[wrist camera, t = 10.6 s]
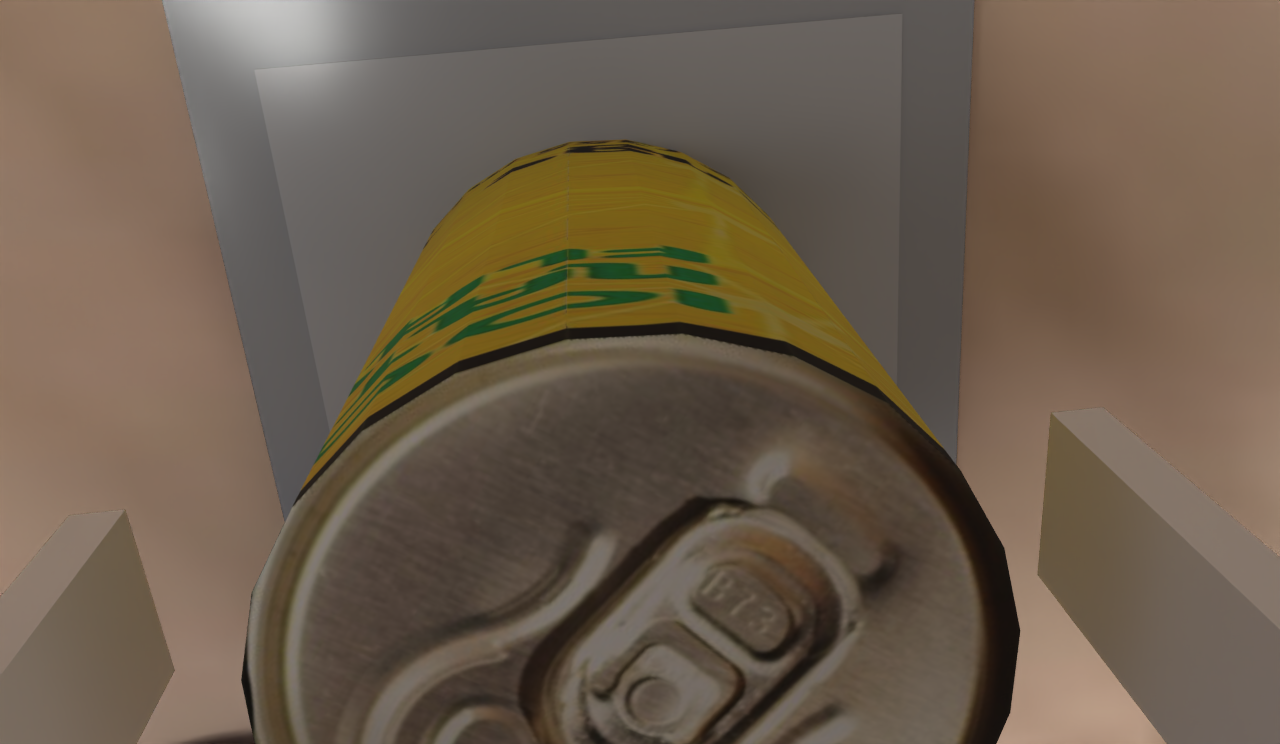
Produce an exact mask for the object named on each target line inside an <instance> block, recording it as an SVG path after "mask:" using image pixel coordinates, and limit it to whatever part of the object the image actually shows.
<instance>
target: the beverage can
mask: <svg viewBox="0 0 1280 744" xmlns="http://www.w3.org/2000/svg"><path fill="white" fill-rule="evenodd" d="M1019 637H1020V627H1019V622H1018V617H1017V612H1016V606H1015V601H1014V596H1013V591H1012V586H1011V581H1010V576H1009V570H1008V565H1007V560H1006V555H1005V550H1004V547H1003V545H1002V543H1001V541H1000V540H999V538H998V536H997V534H996V533H995V531H994V529H993V527H992V526H991V524H990V522H989V520H988V518H987V517H986V515H985V513H984V511H983V510H982V508H981V506H980V504H979V503H978V501H977V499H976V497H975V495H974V494H973V492H972V490H971V488H970V487H969V485H968V483H967V481H966V479H965V478H964V476H963V474H962V472H961V471H960V469H959V468H958V466H957V465H956V464H955V462H954V461H953V460H952V458H951V457H950V456H949V454H948V453H947V452H946V450H945V449H944V448H943V446H942V445H941V444H940V443H939V441H938V440H937V439H936V437H935V436H934V435H933V433H932V432H931V431H930V429H929V428H928V427H927V425H926V424H925V423H924V421H923V420H922V419H921V417H920V416H919V415H918V413H917V412H916V411H915V409H914V408H913V407H912V405H911V404H910V403H909V401H908V400H907V399H906V397H905V396H904V395H903V393H902V392H901V391H900V389H899V388H898V387H897V385H896V384H895V383H894V381H893V380H892V379H891V377H890V376H889V375H888V374H887V372H886V371H885V370H884V368H883V367H882V366H881V364H880V363H879V362H878V360H877V359H876V358H875V356H874V355H873V354H872V352H871V351H870V350H869V348H868V347H867V346H866V344H865V343H864V342H863V340H862V339H861V338H860V336H859V335H858V334H857V332H856V331H855V330H854V328H853V327H852V326H851V324H850V323H849V322H848V320H847V319H846V318H845V316H844V315H843V314H842V312H841V311H840V310H839V308H838V307H837V306H836V304H835V303H834V302H833V301H832V299H831V298H830V297H829V295H828V294H827V293H826V291H825V290H824V289H823V287H822V286H821V285H820V283H819V282H818V281H817V279H816V278H815V277H814V275H813V274H812V273H811V271H810V270H809V269H808V267H807V266H806V265H805V263H804V262H803V261H802V259H801V258H800V257H799V255H798V254H797V253H796V251H795V250H794V249H793V247H792V246H791V245H790V243H789V242H788V241H787V239H786V238H785V237H784V235H783V234H782V233H781V231H780V230H779V229H778V228H777V226H776V225H775V224H774V222H773V221H772V220H771V218H770V217H769V216H768V214H767V213H766V212H765V211H763V210H762V209H761V208H760V207H759V206H758V205H757V204H756V203H755V202H754V201H753V200H752V199H751V198H750V197H749V196H748V195H747V194H746V193H745V192H744V191H743V190H742V189H741V188H740V187H738V186H737V185H736V184H735V183H734V182H733V181H732V180H731V179H730V178H729V177H727V176H725V175H723V174H721V173H720V172H718V171H716V170H714V169H712V168H710V167H708V166H706V165H705V164H703V163H701V162H699V161H697V160H695V159H693V158H692V157H690V156H688V155H686V154H684V153H682V152H679V151H675V150H671V149H666V148H662V147H657V146H653V145H649V144H644V143H640V142H635V141H631V140H627V139H623V140H599V141H575V142H567V143H564V144H561V145H558V146H554V147H551V148H548V149H545V150H542V151H539V152H536V153H532V154H529V155H526V156H523V157H520V158H517V159H514V160H513V161H511V162H510V163H508V164H507V165H505V166H504V167H502V168H501V169H499V170H498V171H496V172H494V173H493V174H491V175H490V176H488V177H487V178H485V179H484V180H482V181H481V182H479V183H477V184H476V185H474V186H473V187H471V188H470V189H468V191H467V192H466V193H465V194H464V195H463V196H462V197H461V199H460V200H459V201H458V202H457V203H456V204H455V205H454V207H453V208H452V209H451V210H450V211H449V212H448V213H447V214H446V216H445V217H444V218H443V219H442V220H441V221H440V222H439V224H438V225H437V226H436V227H435V228H434V229H433V231H432V233H431V235H430V237H429V239H428V241H427V243H426V245H425V246H424V248H423V250H422V252H421V254H420V256H419V258H418V260H417V262H416V264H415V266H414V268H413V270H412V272H411V274H410V276H409V278H408V280H407V282H406V284H405V286H404V288H403V290H402V292H401V294H400V296H399V298H398V300H397V302H396V304H395V306H394V307H393V309H392V311H391V313H390V315H389V317H388V319H387V321H386V323H385V325H384V327H383V329H382V331H381V333H380V335H379V337H378V339H377V341H376V343H375V345H374V347H373V349H372V351H371V353H370V355H369V357H368V359H367V361H366V363H365V365H364V367H363V369H362V370H361V372H360V374H359V376H358V378H357V380H356V382H355V384H354V386H353V388H352V390H351V392H350V394H349V396H348V398H347V400H346V402H345V404H344V406H343V408H342V410H341V412H340V414H339V416H338V418H337V420H336V422H335V424H334V426H333V428H332V430H331V431H330V433H329V435H328V437H327V439H326V441H325V443H324V445H323V447H322V449H321V451H320V453H319V455H318V457H317V459H316V461H315V463H314V465H313V467H312V469H311V471H310V473H309V475H308V477H307V479H306V481H305V483H304V485H303V487H302V489H301V491H300V492H299V494H298V496H297V498H296V500H295V502H294V504H293V506H292V508H291V510H290V513H289V515H288V517H287V519H286V521H285V523H284V525H283V527H282V530H281V532H280V534H279V536H278V538H277V540H276V542H275V544H274V547H273V549H272V551H271V553H270V555H269V557H268V559H267V561H266V564H265V566H264V568H263V570H262V572H261V574H260V576H259V578H258V581H257V583H256V585H255V587H254V589H253V591H252V594H251V603H250V611H249V620H248V628H247V637H246V645H245V654H244V662H243V671H242V679H241V681H242V686H243V690H244V695H245V700H246V705H247V709H248V714H249V719H250V724H251V728H252V733H253V738H254V742H255V744H996V743H997V741H998V739H999V737H1000V734H1001V732H1002V730H1003V727H1004V725H1005V723H1006V721H1007V718H1008V716H1009V714H1010V710H1011V701H1012V693H1013V685H1014V677H1015V669H1016V661H1017V653H1018V645H1019Z"/></svg>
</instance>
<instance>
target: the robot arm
mask: <svg viewBox="0 0 1280 744" xmlns="http://www.w3.org/2000/svg"><path fill="white" fill-rule="evenodd" d="M1038 576H1039V577H1040V578H1041V580H1042V581H1043V582H1044V584H1045V585H1046V586H1047V587H1048V589H1049V590H1050V591H1051V593H1052V594H1053V595H1054V597H1055V598H1056V599H1057V601H1058V602H1059V603H1060V604H1061V606H1062V607H1063V608H1064V610H1065V611H1066V612H1067V614H1068V615H1069V616H1070V618H1071V619H1072V620H1073V621H1074V623H1075V624H1076V625H1077V627H1078V628H1079V629H1080V631H1081V632H1082V633H1083V635H1084V636H1085V637H1086V638H1087V640H1088V641H1089V642H1090V644H1091V645H1092V646H1093V648H1094V649H1095V650H1096V652H1097V653H1098V654H1099V655H1100V657H1101V658H1102V659H1103V661H1104V662H1105V663H1106V665H1107V666H1108V667H1109V669H1110V670H1111V671H1112V672H1113V674H1114V675H1115V676H1116V678H1117V679H1118V680H1119V682H1120V683H1121V684H1122V686H1123V687H1124V688H1125V689H1126V691H1127V692H1128V693H1129V695H1130V696H1131V697H1132V699H1133V700H1134V701H1135V702H1136V704H1137V705H1138V706H1139V708H1140V709H1141V710H1142V712H1143V713H1144V714H1145V716H1146V717H1147V718H1148V719H1149V721H1150V722H1151V723H1152V725H1153V726H1154V727H1155V729H1156V730H1157V731H1158V733H1159V734H1160V735H1161V736H1162V738H1163V739H1164V740H1165V742H1166V743H1167V744H1280V557H1279V556H1278V555H1277V554H1276V553H1274V552H1273V551H1272V550H1271V549H1270V548H1268V547H1267V546H1266V545H1265V544H1264V543H1263V542H1261V541H1260V540H1259V539H1258V538H1257V537H1255V536H1254V535H1253V534H1252V533H1251V532H1250V531H1248V530H1247V529H1246V528H1245V527H1244V526H1242V525H1241V524H1240V523H1239V522H1238V521H1237V520H1235V519H1234V518H1233V517H1232V516H1231V515H1230V514H1228V513H1227V512H1226V511H1225V510H1224V509H1222V508H1221V507H1220V506H1219V505H1218V504H1217V503H1215V502H1214V501H1213V500H1212V499H1211V498H1209V497H1208V496H1207V495H1206V494H1205V493H1204V492H1202V491H1201V490H1200V489H1199V488H1198V487H1196V486H1195V485H1194V484H1193V483H1192V482H1191V481H1189V480H1188V479H1187V478H1186V477H1185V476H1184V475H1182V474H1181V473H1180V472H1179V471H1178V470H1176V469H1175V468H1174V467H1173V466H1172V465H1171V464H1169V463H1168V462H1167V461H1166V460H1165V459H1163V458H1162V457H1161V456H1160V455H1159V454H1158V453H1156V452H1155V451H1154V450H1153V449H1152V448H1150V447H1149V446H1148V445H1147V444H1146V443H1145V442H1143V441H1142V440H1141V439H1140V438H1139V437H1137V436H1136V435H1135V434H1134V433H1133V432H1132V431H1130V430H1129V429H1128V428H1127V427H1126V426H1125V425H1123V424H1122V423H1121V422H1120V421H1119V420H1117V419H1116V418H1115V417H1114V416H1113V415H1112V414H1110V413H1109V412H1108V411H1107V410H1106V409H1104V408H1103V407H1099V408H1090V409H1080V410H1071V411H1061V412H1052V413H1051V417H1050V430H1049V442H1048V454H1047V466H1046V478H1045V490H1044V502H1043V515H1042V527H1041V539H1040V551H1039V563H1038ZM174 671H175V670H174V667H173V663H172V660H171V657H170V653H169V650H168V647H167V644H166V640H165V637H164V634H163V631H162V627H161V624H160V621H159V618H158V614H157V611H156V608H155V605H154V601H153V598H152V595H151V592H150V588H149V585H148V582H147V579H146V575H145V572H144V569H143V566H142V562H141V559H140V556H139V553H138V549H137V546H136V543H135V539H134V536H133V533H132V530H131V526H130V523H129V520H128V517H127V513H126V510H125V509H124V510H115V511H105V512H96V513H86V514H76V515H69V516H68V517H67V518H66V520H65V521H64V522H63V523H62V524H61V525H60V527H59V528H58V529H57V530H56V531H55V533H54V534H53V535H52V536H51V537H50V539H49V540H48V541H47V542H46V543H45V544H44V546H43V547H42V548H41V549H40V550H39V552H38V553H37V554H36V555H35V556H34V558H33V559H32V560H31V561H30V562H29V563H28V565H27V566H26V567H25V568H24V569H23V571H22V572H21V573H20V574H19V575H18V577H17V578H16V579H15V580H14V581H13V582H12V584H11V585H10V586H9V587H8V588H7V590H6V591H5V592H4V593H3V594H2V596H1V597H0V744H137V742H138V740H139V738H140V736H141V734H142V733H143V731H144V729H145V727H146V725H147V723H148V721H149V719H150V717H151V715H152V713H153V711H154V709H155V707H156V705H157V704H158V702H159V700H160V698H161V696H162V694H163V692H164V690H165V688H166V686H167V684H168V682H169V680H170V678H171V677H172V675H173V673H174Z"/></svg>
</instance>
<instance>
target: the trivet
mask: <svg viewBox="0 0 1280 744" xmlns="http://www.w3.org/2000/svg"><path fill="white" fill-rule="evenodd" d="M162 2H163V7H164V11H165V15H166V19H167V24H168V28H169V32H170V36H171V41H172V45H173V49H174V53H175V58H176V62H177V66H178V70H179V75H180V79H181V83H182V87H183V92H184V96H185V100H186V104H187V109H188V113H189V117H190V121H191V126H192V130H193V134H194V138H195V143H196V147H197V151H198V155H199V160H200V164H201V168H202V172H203V177H204V181H205V185H206V189H207V194H208V198H209V202H210V206H211V211H212V215H213V219H214V223H215V228H216V232H217V236H218V240H219V245H220V249H221V253H222V257H223V262H224V266H225V270H226V274H227V279H228V283H229V287H230V291H231V296H232V300H233V304H234V308H235V313H236V317H237V321H238V325H239V330H240V334H241V338H242V342H243V347H244V351H245V355H246V359H247V364H248V368H249V372H250V376H251V381H252V385H253V389H254V393H255V398H256V402H257V406H258V410H259V415H260V419H261V423H262V427H263V432H264V436H265V440H266V444H267V449H268V453H269V457H270V461H271V466H272V470H273V474H274V478H275V483H276V487H277V491H278V495H279V500H280V504H281V508H282V512H283V517H284V521H286V519H287V517H288V515H289V513H290V510H291V508H292V506H293V504H294V502H295V500H296V498H297V496H298V494H299V492H300V491H301V489H302V487H303V485H304V483H305V481H306V479H307V477H308V475H309V473H310V471H311V469H312V467H313V465H314V463H315V461H316V459H317V457H318V455H319V453H320V451H321V449H322V447H323V445H324V443H325V441H326V439H327V437H328V435H329V433H330V431H331V430H332V428H333V426H334V424H335V422H336V420H337V418H338V416H339V414H340V412H341V410H342V408H343V406H344V404H345V402H346V400H347V398H348V396H349V394H350V392H351V390H352V388H353V386H354V384H355V382H356V380H357V378H358V376H359V374H360V372H361V370H362V369H363V367H364V365H365V363H366V361H367V359H368V357H369V355H370V353H371V351H372V349H373V347H374V345H375V343H376V341H377V339H378V337H379V335H380V333H381V331H382V329H383V327H384V325H385V323H386V321H387V319H388V317H389V315H390V313H391V311H392V309H393V307H394V306H395V304H396V302H397V300H398V298H399V296H400V294H401V292H402V290H403V288H404V286H405V284H406V282H407V280H408V278H409V276H410V274H411V272H412V270H413V268H414V266H415V264H416V262H417V260H418V258H419V256H420V254H421V252H422V250H423V248H424V246H425V245H426V243H427V241H428V239H429V237H430V235H431V233H432V231H433V229H434V228H435V227H436V226H437V225H438V224H439V222H440V221H441V220H442V219H443V218H444V217H445V216H446V214H447V213H448V212H449V211H450V210H451V209H452V208H453V207H454V205H455V204H456V203H457V202H458V201H459V200H460V199H461V197H462V196H463V195H464V194H465V193H466V192H467V191H468V189H470V188H471V187H473V186H474V185H476V184H477V183H479V182H481V181H482V180H484V179H485V178H487V177H488V176H490V175H491V174H493V173H494V172H496V171H498V170H499V169H501V168H502V167H504V166H505V165H507V164H508V163H510V162H511V161H513V160H514V159H517V158H520V157H523V156H526V155H529V154H532V153H536V152H539V151H542V150H545V149H548V148H551V147H554V146H558V145H561V144H564V143H567V142H575V141H599V140H623V139H627V140H631V141H635V142H640V143H644V144H649V145H653V146H657V147H662V148H666V149H671V150H675V151H679V152H682V153H684V154H686V155H688V156H690V157H692V158H693V159H695V160H697V161H699V162H701V163H703V164H705V165H706V166H708V167H710V168H712V169H714V170H716V171H718V172H720V173H721V174H723V175H725V176H727V177H729V178H730V179H731V180H732V181H733V182H734V183H735V184H736V185H737V186H738V187H740V188H741V189H742V190H743V191H744V192H745V193H746V194H747V195H748V196H749V197H750V198H751V199H752V200H753V201H754V202H755V203H756V204H757V205H758V206H759V207H760V208H761V209H762V210H763V211H765V212H766V213H767V214H768V216H769V217H770V218H771V220H772V221H773V222H774V224H775V225H776V226H777V228H778V229H779V230H780V231H781V233H782V234H783V235H784V237H785V238H786V239H787V241H788V242H789V243H790V245H791V246H792V247H793V249H794V250H795V251H796V253H797V254H798V255H799V257H800V258H801V259H802V261H803V262H804V263H805V265H806V266H807V267H808V269H809V270H810V271H811V273H812V274H813V275H814V277H815V278H816V279H817V281H818V282H819V283H820V285H821V286H822V287H823V289H824V290H825V291H826V293H827V294H828V295H829V297H830V298H831V299H832V301H833V302H834V303H835V304H836V306H837V307H838V308H839V310H840V311H841V312H842V314H843V315H844V316H845V318H846V319H847V320H848V322H849V323H850V324H851V326H852V327H853V328H854V330H855V331H856V332H857V334H858V335H859V336H860V338H861V339H862V340H863V342H864V343H865V344H866V346H867V347H868V348H869V350H870V351H871V352H872V354H873V355H874V356H875V358H876V359H877V360H878V362H879V363H880V364H881V366H882V367H883V368H884V370H885V371H886V372H887V374H888V375H889V376H890V377H891V379H892V380H893V381H894V383H895V384H896V385H897V387H898V388H899V389H900V391H901V392H902V393H903V395H904V396H905V397H906V399H907V400H908V401H909V403H910V404H911V405H912V407H913V408H914V409H915V411H916V412H917V413H918V415H919V416H920V417H921V419H922V420H923V421H924V423H925V424H926V425H927V427H928V428H929V429H930V431H931V432H932V433H933V435H934V436H935V437H936V439H937V440H938V441H939V443H940V444H941V445H942V446H943V448H944V449H945V450H946V452H947V453H948V454H949V456H950V457H951V458H952V460H953V461H954V462H955V464H956V457H957V432H958V406H959V381H960V355H961V330H962V304H963V279H964V253H965V228H966V202H967V177H968V151H969V126H970V100H971V75H972V49H973V24H974V0H162Z"/></svg>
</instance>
